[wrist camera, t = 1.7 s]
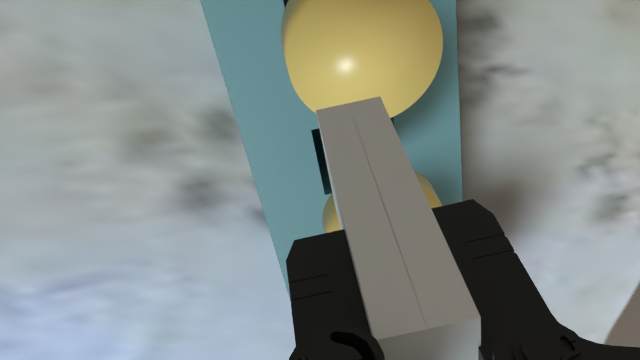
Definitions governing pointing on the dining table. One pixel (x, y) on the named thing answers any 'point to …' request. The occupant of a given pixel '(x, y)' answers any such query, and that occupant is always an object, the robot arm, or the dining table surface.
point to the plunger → (361, 51)
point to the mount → (302, 124)
